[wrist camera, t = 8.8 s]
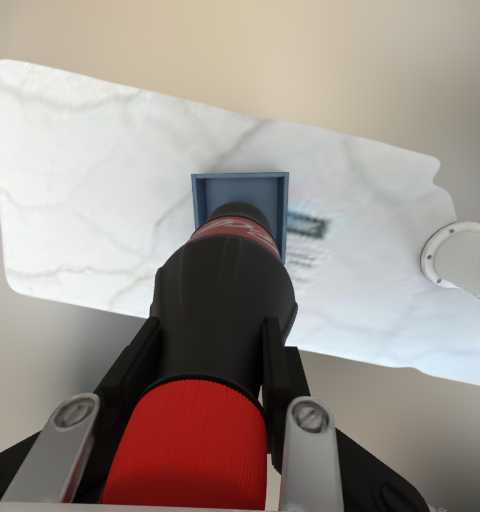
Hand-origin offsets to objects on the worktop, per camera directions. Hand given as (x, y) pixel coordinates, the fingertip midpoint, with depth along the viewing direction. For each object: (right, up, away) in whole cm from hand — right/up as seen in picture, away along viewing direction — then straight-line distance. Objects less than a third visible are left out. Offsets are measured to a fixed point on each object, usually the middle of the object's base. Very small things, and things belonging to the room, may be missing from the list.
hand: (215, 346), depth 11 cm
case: (+1, +12, +34) cm, 36 cm away
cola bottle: (+1, +8, +23) cm, 24 cm away
